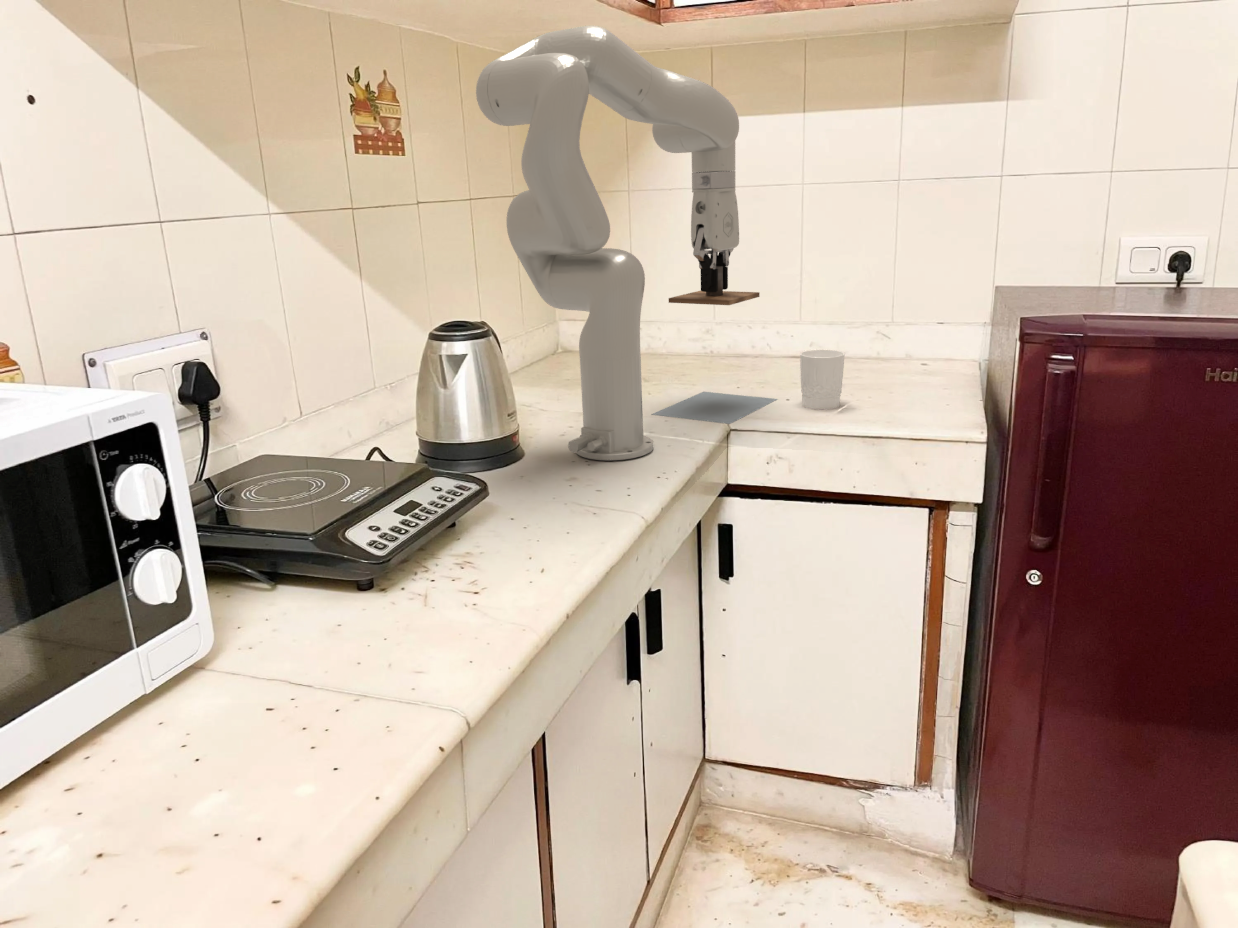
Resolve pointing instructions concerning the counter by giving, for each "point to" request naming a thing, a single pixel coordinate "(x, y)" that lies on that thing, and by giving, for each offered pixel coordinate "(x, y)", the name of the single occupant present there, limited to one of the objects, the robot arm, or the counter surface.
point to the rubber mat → (715, 407)
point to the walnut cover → (715, 295)
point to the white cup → (821, 378)
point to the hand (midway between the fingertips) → (714, 289)
